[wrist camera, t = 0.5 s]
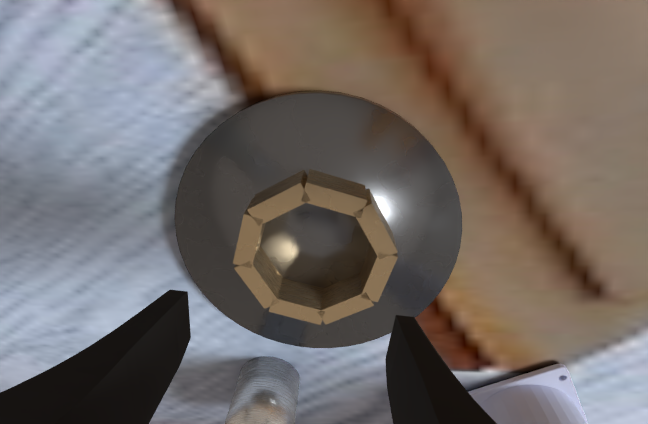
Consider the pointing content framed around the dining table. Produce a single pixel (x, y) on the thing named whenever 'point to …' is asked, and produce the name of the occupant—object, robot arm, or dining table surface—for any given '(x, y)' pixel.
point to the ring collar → (318, 219)
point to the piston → (265, 393)
